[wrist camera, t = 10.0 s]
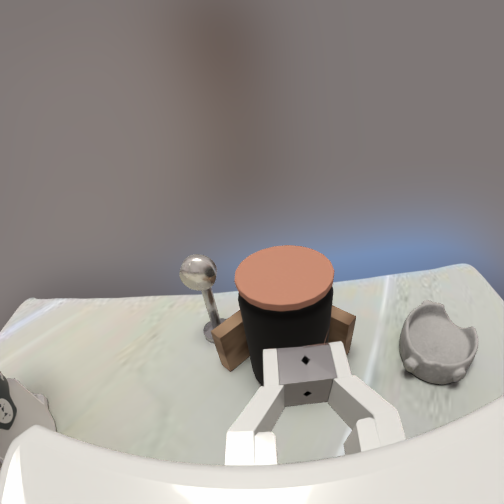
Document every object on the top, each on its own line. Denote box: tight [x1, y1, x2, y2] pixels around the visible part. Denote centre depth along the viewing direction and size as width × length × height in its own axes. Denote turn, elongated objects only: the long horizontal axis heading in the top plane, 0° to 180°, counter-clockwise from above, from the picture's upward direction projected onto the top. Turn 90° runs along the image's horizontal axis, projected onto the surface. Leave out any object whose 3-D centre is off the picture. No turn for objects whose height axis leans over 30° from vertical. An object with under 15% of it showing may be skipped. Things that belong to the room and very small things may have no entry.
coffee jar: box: [235, 245, 334, 386], centre depth 34 cm, size 11×11×18 cm
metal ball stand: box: [180, 254, 226, 343], centre depth 42 cm, size 5×5×16 cm
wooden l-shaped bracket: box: [211, 306, 356, 372], centre depth 42 cm, size 20×13×8 cm, turn 90°
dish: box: [400, 300, 478, 384], centre depth 34 cm, size 14×14×5 cm
